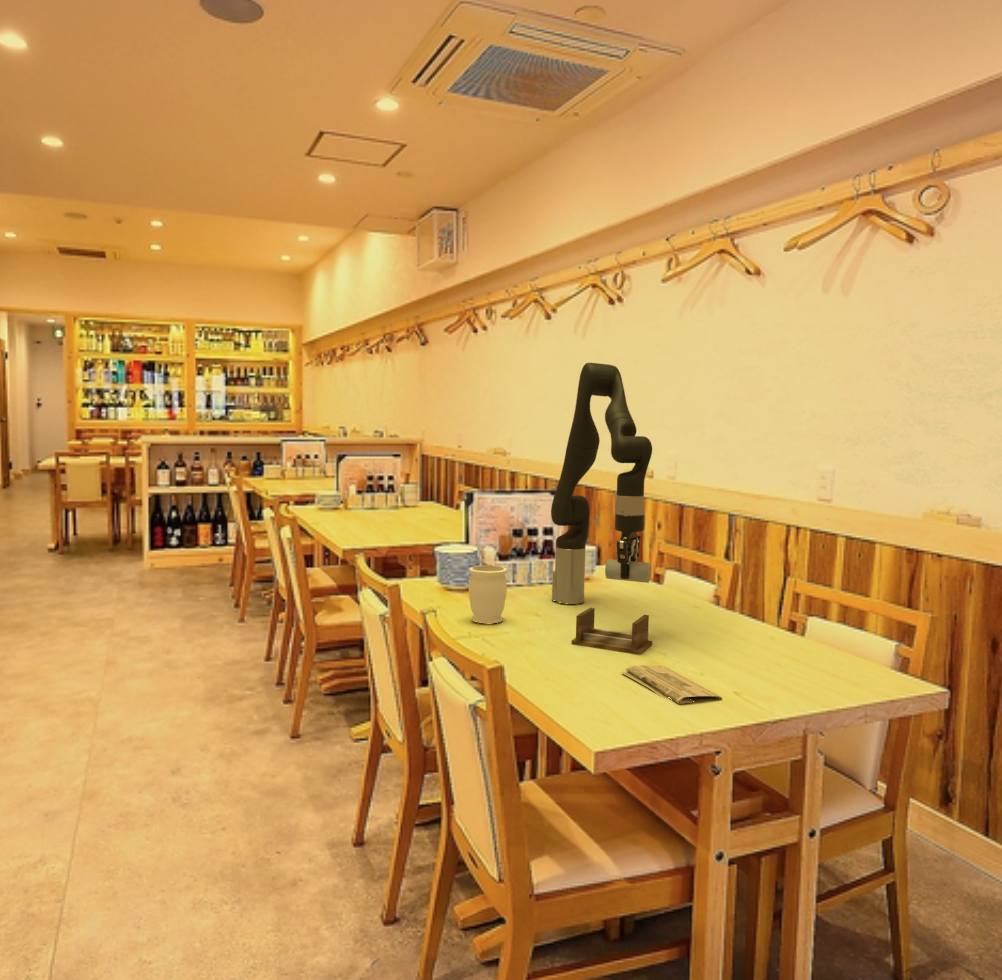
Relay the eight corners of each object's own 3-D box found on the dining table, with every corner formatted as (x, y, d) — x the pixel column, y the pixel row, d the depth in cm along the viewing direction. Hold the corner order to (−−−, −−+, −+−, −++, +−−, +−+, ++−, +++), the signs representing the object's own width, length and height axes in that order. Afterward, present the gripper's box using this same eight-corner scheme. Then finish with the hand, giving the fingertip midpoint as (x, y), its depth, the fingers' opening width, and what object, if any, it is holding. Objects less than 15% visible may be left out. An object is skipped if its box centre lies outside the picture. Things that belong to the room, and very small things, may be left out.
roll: (604, 580, 210) (605, 560, 210) (610, 576, 215) (611, 557, 214) (646, 584, 205) (646, 564, 205) (651, 580, 210) (651, 561, 209)
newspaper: (618, 675, 181) (619, 664, 181) (664, 675, 185) (665, 665, 185) (672, 709, 159) (674, 697, 159) (723, 709, 164) (725, 697, 164)
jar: (507, 617, 228) (508, 565, 227) (504, 626, 218) (505, 572, 217) (470, 615, 229) (471, 564, 228) (465, 625, 219) (466, 571, 218)
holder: (571, 644, 203) (572, 615, 202) (585, 634, 212) (586, 606, 211) (640, 654, 195) (641, 624, 194) (651, 644, 204) (653, 615, 203)
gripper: (624, 509, 217) (622, 571, 218) (607, 514, 204) (605, 580, 205) (651, 511, 213) (649, 573, 215) (636, 516, 200) (634, 582, 202)
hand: (628, 576), depth 210 cm, fingers closed on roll, 5 cm apart
